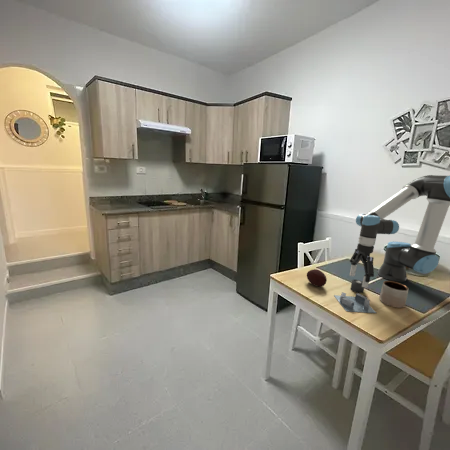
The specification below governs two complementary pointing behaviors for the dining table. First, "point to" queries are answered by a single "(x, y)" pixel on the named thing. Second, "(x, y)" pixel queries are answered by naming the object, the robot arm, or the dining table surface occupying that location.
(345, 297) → the blue square tray
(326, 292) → the dining table surface
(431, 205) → the robot arm
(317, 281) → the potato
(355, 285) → the cap
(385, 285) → the planter
